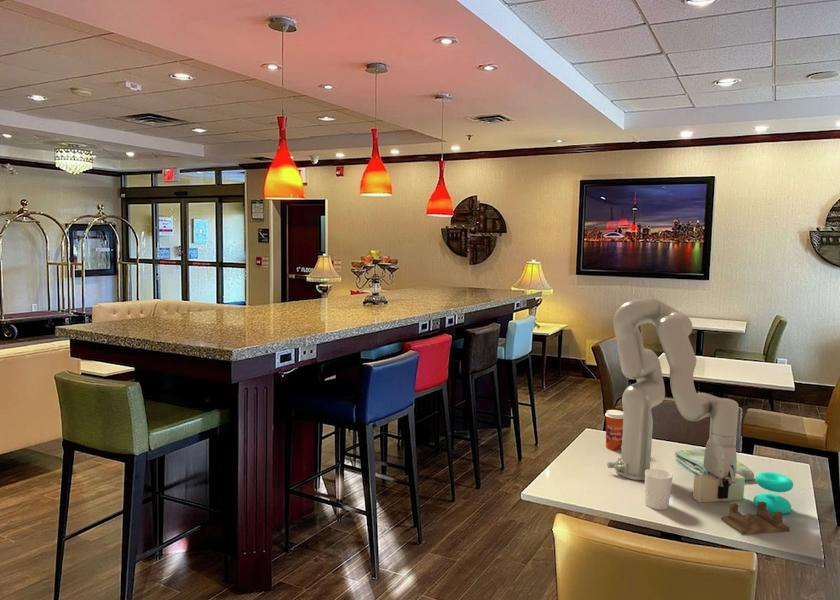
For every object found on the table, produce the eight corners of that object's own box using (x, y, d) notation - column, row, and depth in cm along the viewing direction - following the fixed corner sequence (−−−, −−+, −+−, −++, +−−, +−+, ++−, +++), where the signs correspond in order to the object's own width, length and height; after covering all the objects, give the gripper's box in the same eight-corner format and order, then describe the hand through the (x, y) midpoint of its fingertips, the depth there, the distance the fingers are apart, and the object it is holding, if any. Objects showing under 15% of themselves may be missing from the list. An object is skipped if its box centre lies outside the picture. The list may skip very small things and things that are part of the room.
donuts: (793, 486, 183) (754, 478, 188) (790, 519, 185) (752, 510, 190) (793, 474, 192) (756, 468, 197) (790, 506, 193) (753, 498, 198)
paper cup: (604, 450, 239) (606, 414, 237) (602, 443, 246) (604, 408, 245) (625, 452, 237) (628, 416, 236) (622, 445, 245) (625, 410, 243)
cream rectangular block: (699, 502, 195) (701, 480, 194) (692, 497, 198) (694, 475, 197) (743, 499, 197) (744, 477, 196) (735, 494, 201) (737, 473, 200)
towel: (718, 459, 233) (719, 445, 233) (754, 482, 212) (756, 467, 212) (671, 460, 231) (672, 446, 231) (703, 483, 210) (704, 469, 210)
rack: (741, 534, 174) (743, 517, 174) (720, 519, 183) (722, 503, 182) (789, 530, 177) (791, 513, 176) (766, 516, 186) (768, 500, 185)
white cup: (667, 513, 187) (669, 480, 185) (640, 506, 191) (642, 474, 190) (672, 503, 193) (675, 472, 192) (646, 497, 197) (648, 466, 196)
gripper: (695, 430, 203) (691, 485, 205) (729, 448, 187) (724, 507, 189) (716, 429, 204) (712, 484, 206) (751, 447, 188) (747, 506, 190)
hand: (718, 494), depth 198 cm, fingers closed on cream rectangular block, 3 cm apart
